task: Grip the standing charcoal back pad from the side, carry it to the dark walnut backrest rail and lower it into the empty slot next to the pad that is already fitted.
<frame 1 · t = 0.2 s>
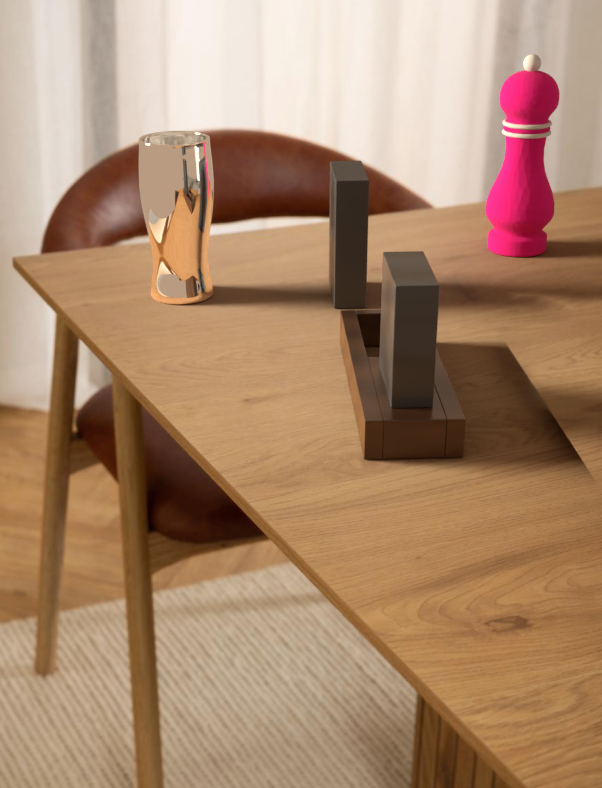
pepper mill: (516, 250, 128), on the table
beer glass: (182, 296, 116), on the table
back pad: (346, 294, 115), on the table
backrest rail: (394, 394, 93), on the table
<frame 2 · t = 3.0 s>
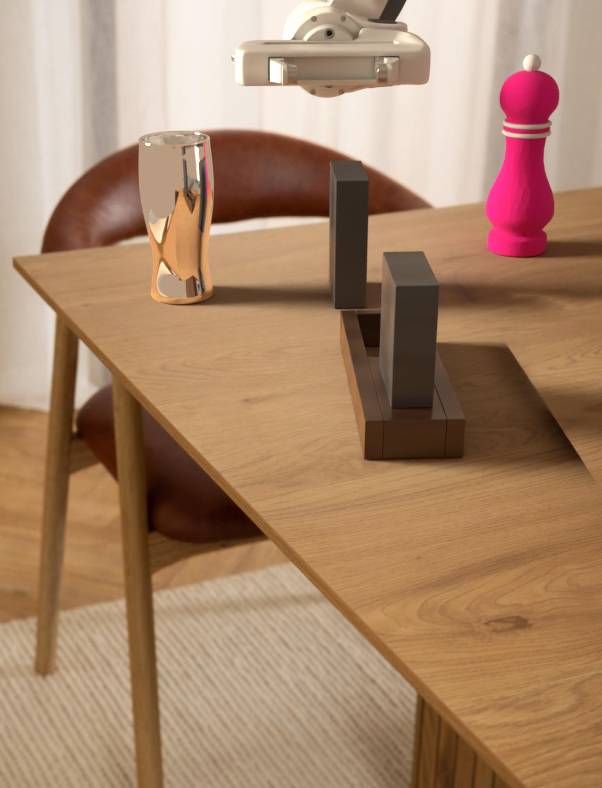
hand: (337, 76, 117), 19 cm above the table, tool horizontal, fingers open, 8 cm apart
nothing on the table moved.
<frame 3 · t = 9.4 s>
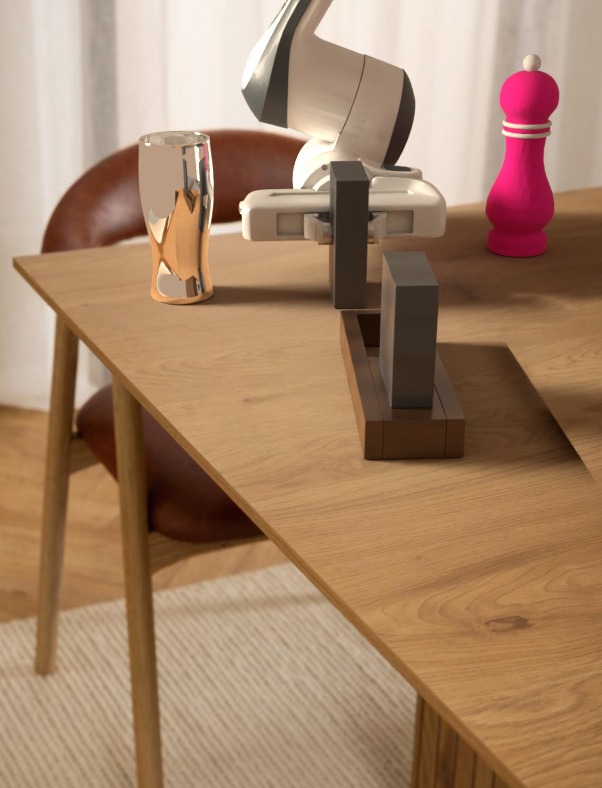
hand: (348, 236, 111), 6 cm above the table, tool horizontal, fingers closed on back pad, 3 cm apart
back pad: (346, 294, 115), on the table, touching gripper
everything else where it was.
when the fingers open (6 cm above the table, at t = 17.6 s): back pad stays where it is, resting in backrest rail.
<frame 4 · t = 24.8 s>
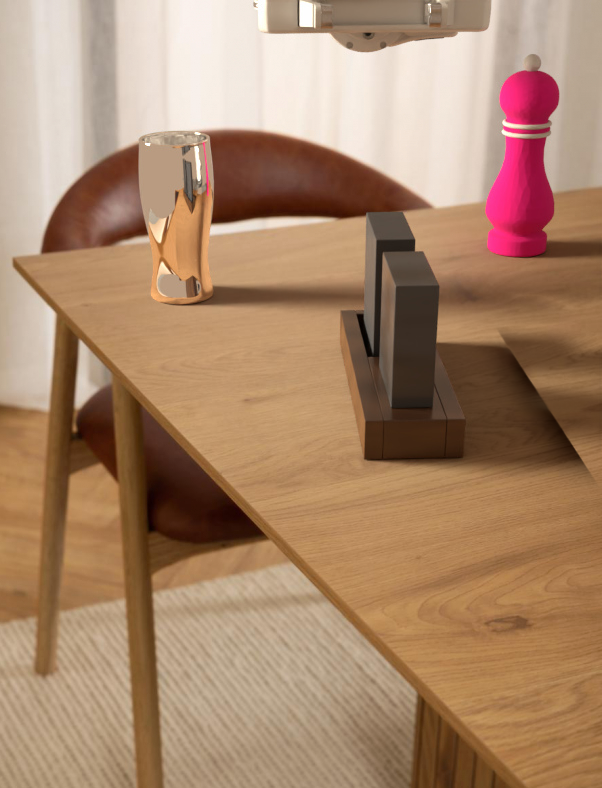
hand: (381, 17, 97), 26 cm above the table, tool horizontal, fingers open, 8 cm apart
back pad: (385, 367, 98), resting in backrest rail
everything else where it was.
at the end: back pad 0.2 cm from the target spot on the backrest rail, point 0.0 cm above the backrest rail's base; back pad tilted 0° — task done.
